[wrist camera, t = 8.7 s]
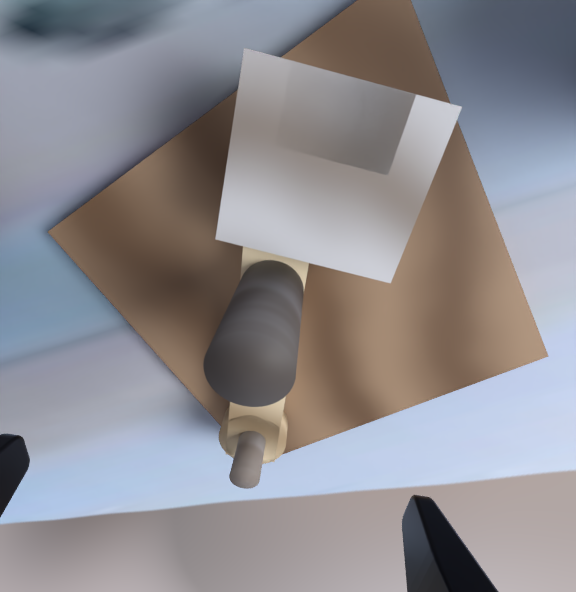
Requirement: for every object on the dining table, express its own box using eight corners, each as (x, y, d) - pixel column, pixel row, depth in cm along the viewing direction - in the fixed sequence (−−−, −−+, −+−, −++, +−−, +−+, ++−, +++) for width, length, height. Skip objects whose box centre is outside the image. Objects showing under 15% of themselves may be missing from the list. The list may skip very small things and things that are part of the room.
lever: (283, 448, 24) (269, 579, 17) (222, 438, 24) (184, 565, 17) (335, 169, 16) (346, 212, 9) (244, 155, 16) (190, 188, 9)
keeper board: (257, 452, 26) (245, 519, 22) (56, 222, 20) (-18, 253, 15) (538, 345, 21) (595, 407, 16) (390, -30, 14) (421, -91, 10)
